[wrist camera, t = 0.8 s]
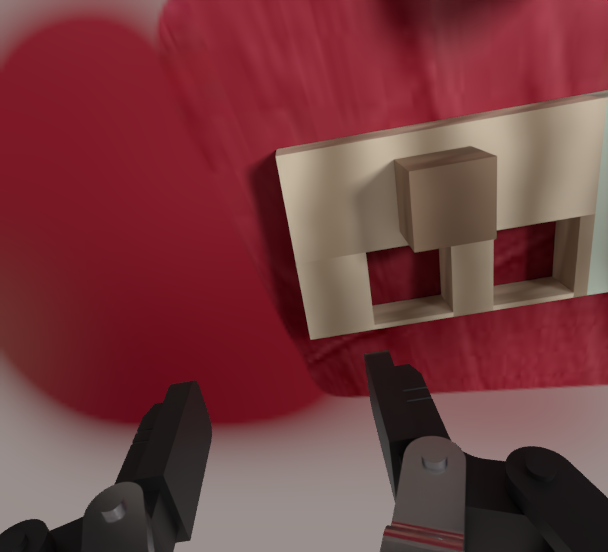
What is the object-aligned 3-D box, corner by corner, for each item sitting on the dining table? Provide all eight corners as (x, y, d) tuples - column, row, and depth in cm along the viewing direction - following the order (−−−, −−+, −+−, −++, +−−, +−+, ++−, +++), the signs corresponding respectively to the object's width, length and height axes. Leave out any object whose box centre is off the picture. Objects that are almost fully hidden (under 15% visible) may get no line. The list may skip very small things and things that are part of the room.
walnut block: (470, 145, 29) (497, 156, 25) (471, 219, 31) (496, 238, 27) (393, 159, 29) (408, 171, 25) (399, 231, 31) (414, 252, 27)
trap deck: (713, 71, 30) (798, 70, 25) (677, 260, 36) (740, 290, 31) (276, 149, 31) (274, 163, 26) (308, 320, 37) (312, 358, 32)
